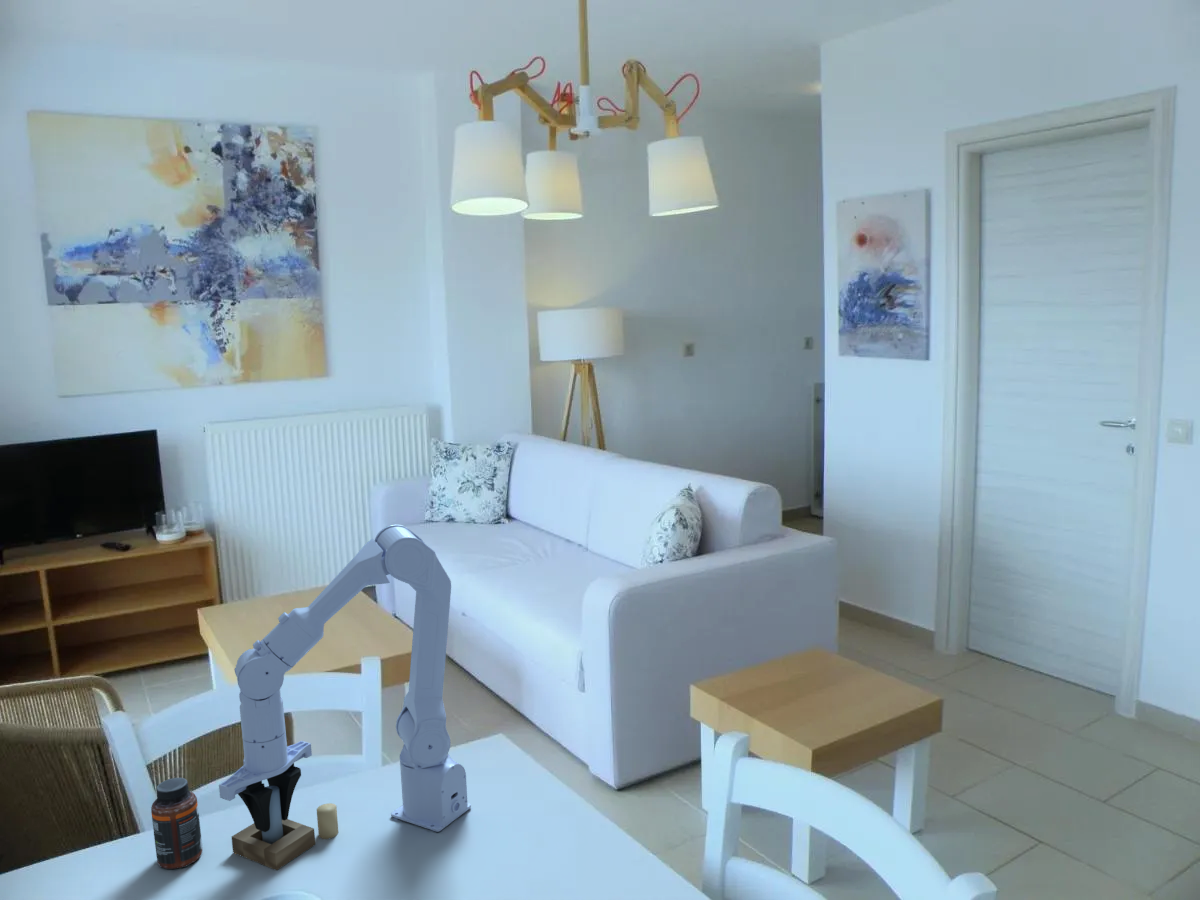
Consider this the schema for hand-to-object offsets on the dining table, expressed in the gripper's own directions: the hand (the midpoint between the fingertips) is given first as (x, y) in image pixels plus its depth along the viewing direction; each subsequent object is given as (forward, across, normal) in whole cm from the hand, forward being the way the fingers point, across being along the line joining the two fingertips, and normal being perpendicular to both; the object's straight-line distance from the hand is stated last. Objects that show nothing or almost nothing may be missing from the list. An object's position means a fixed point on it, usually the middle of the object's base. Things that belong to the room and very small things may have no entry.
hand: (272, 823), depth 134 cm
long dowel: (+3, 0, 0) cm, 4 cm away
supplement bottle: (+4, +8, -10) cm, 13 cm away
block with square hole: (+4, 0, 0) cm, 4 cm away
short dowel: (+4, -6, +4) cm, 9 cm away
